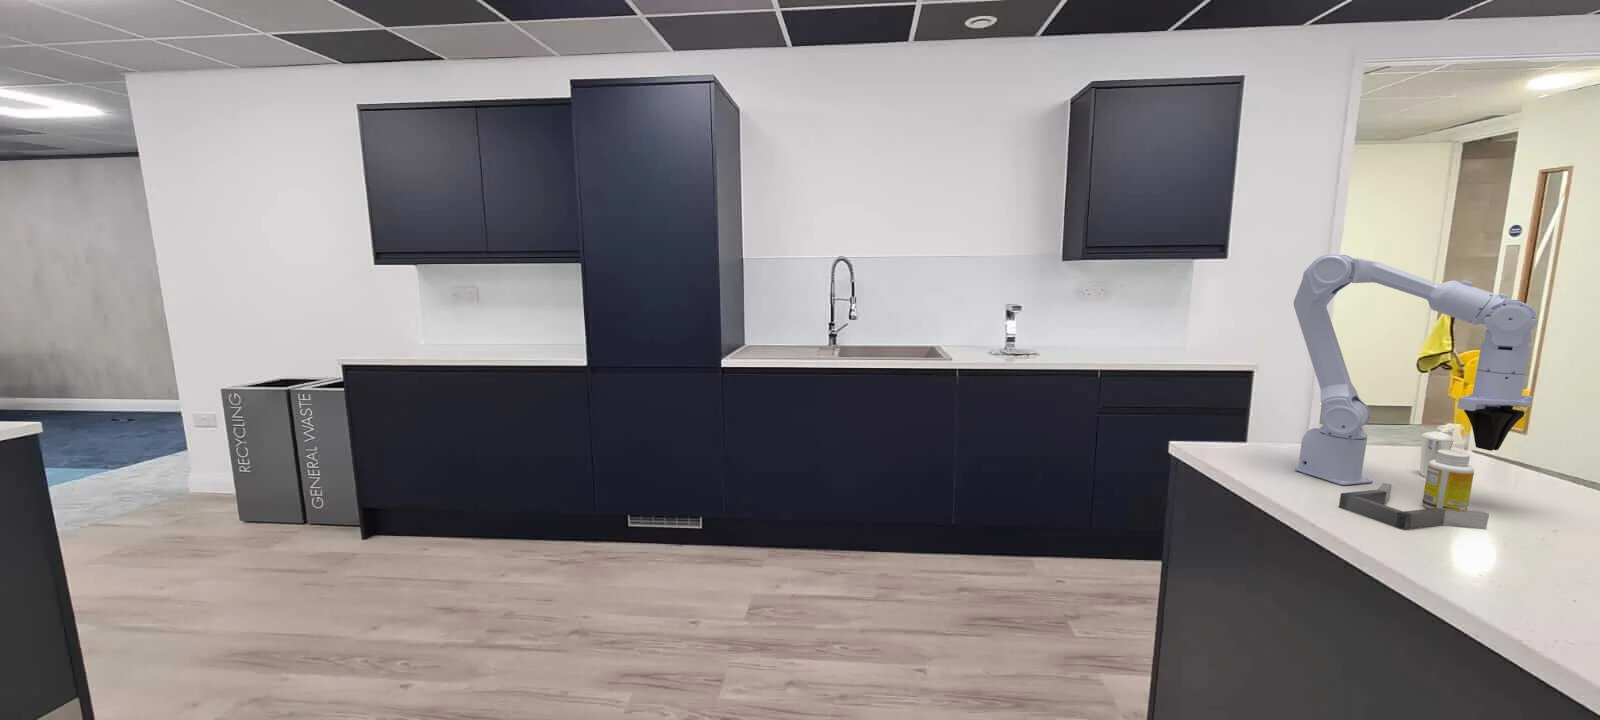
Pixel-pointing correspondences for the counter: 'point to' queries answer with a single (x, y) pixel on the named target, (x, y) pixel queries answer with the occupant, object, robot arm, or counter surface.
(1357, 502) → the grey angular open frame
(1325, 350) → the robot arm
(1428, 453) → the milkshake
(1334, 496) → the counter surface
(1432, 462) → the supplement bottle
